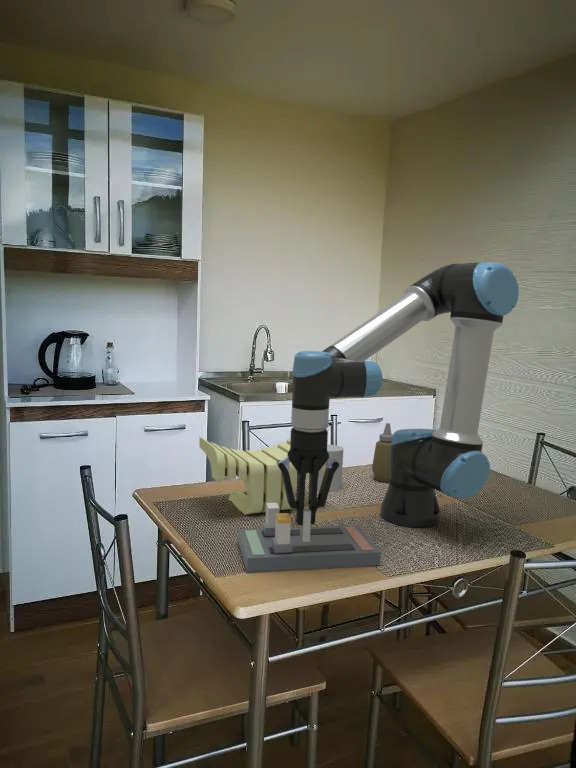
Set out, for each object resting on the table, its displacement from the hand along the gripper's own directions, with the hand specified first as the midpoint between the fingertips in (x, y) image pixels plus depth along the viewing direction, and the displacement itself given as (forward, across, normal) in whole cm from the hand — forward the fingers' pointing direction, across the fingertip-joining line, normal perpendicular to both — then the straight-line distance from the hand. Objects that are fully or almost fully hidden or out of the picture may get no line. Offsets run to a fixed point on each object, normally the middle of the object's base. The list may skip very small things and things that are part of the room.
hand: (304, 539), depth 124 cm
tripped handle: (+2, +5, 0) cm, 5 cm away
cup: (+6, -18, -50) cm, 54 cm away
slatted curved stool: (+6, +4, -36) cm, 36 cm away
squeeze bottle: (+6, -38, -56) cm, 68 cm away
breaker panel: (+5, -2, -4) cm, 7 cm away
